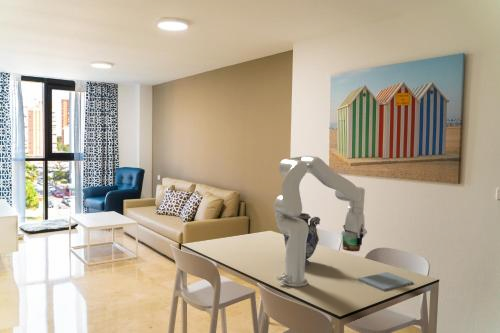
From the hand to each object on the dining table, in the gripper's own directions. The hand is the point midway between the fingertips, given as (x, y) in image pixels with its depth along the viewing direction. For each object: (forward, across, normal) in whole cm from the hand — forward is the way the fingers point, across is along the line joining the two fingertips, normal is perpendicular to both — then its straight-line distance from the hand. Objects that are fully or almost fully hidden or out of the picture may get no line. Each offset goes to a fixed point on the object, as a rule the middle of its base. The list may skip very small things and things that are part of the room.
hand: (353, 243), depth 213 cm
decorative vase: (+16, -26, -14) cm, 34 cm away
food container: (+4, 0, 0) cm, 4 cm away
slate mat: (+16, +18, +5) cm, 24 cm away
